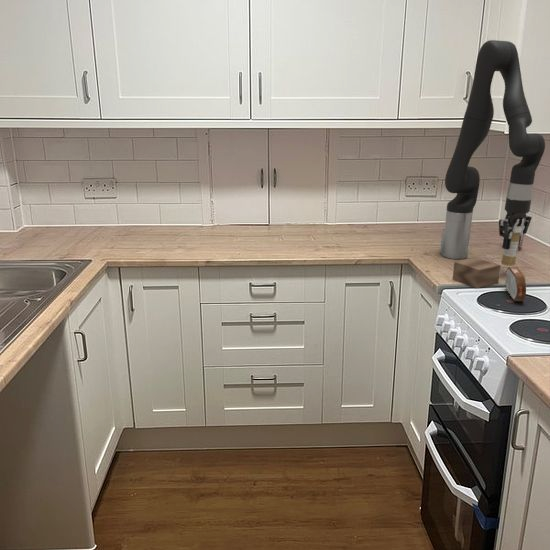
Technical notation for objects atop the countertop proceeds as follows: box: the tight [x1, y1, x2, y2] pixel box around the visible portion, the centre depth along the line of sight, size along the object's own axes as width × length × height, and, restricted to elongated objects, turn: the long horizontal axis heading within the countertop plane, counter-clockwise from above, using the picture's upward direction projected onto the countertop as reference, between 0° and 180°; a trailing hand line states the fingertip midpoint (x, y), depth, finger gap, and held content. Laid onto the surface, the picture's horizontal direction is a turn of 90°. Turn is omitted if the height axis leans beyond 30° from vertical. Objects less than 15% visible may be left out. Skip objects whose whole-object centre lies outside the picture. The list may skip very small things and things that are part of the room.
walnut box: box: [452, 257, 501, 289], centre depth 179 cm, size 10×10×6 cm
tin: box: [505, 266, 527, 302], centre depth 165 cm, size 15×3×8 cm, turn 170°
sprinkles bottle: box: [501, 226, 522, 267], centre depth 183 cm, size 5×5×13 cm
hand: (510, 247), depth 183 cm, fingers closed on sprinkles bottle, 4 cm apart
